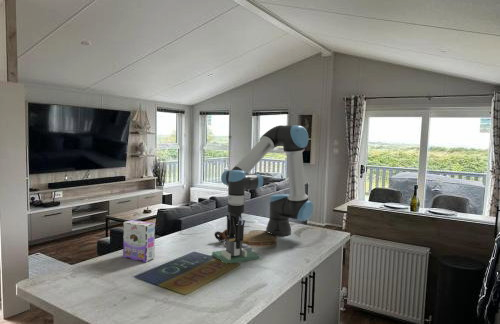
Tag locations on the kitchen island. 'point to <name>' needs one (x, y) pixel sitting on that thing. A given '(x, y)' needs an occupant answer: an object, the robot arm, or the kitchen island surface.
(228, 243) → the plug
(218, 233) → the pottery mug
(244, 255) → the header board
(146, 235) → the candy box
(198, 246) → the kitchen island surface
